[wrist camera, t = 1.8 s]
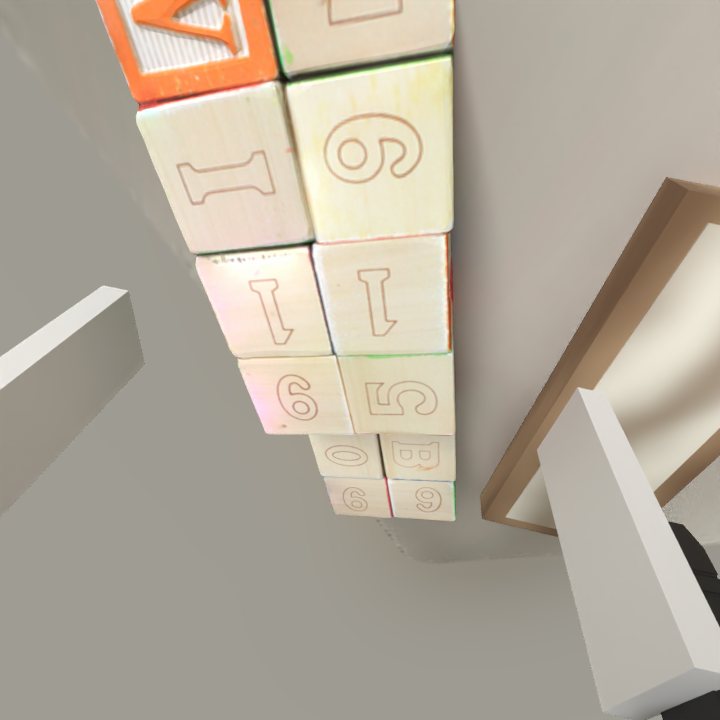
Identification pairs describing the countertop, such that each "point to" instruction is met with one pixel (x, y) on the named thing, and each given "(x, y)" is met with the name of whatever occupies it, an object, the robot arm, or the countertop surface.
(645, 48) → the countertop surface
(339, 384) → the stack of blocks
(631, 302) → the picture frame
